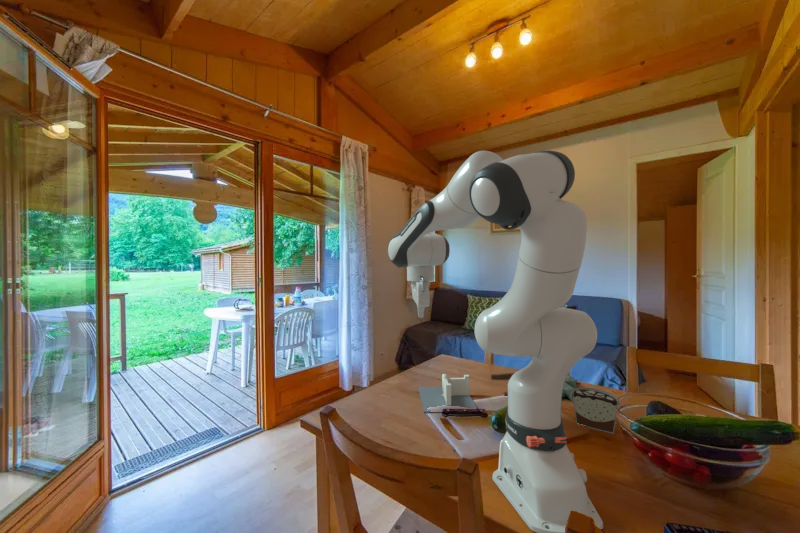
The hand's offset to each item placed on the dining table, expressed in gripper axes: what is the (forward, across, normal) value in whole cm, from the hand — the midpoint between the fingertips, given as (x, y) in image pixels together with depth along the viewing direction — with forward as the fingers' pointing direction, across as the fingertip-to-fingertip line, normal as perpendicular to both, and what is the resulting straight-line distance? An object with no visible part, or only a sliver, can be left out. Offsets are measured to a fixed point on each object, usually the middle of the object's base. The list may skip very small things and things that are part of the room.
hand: (420, 317), depth 104 cm
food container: (+31, -12, -51) cm, 61 cm away
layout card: (+31, +8, -10) cm, 33 cm away
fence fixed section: (+31, +10, -14) cm, 35 cm away
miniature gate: (+32, +16, -46) cm, 58 cm away
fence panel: (+30, +6, -9) cm, 32 cm away
